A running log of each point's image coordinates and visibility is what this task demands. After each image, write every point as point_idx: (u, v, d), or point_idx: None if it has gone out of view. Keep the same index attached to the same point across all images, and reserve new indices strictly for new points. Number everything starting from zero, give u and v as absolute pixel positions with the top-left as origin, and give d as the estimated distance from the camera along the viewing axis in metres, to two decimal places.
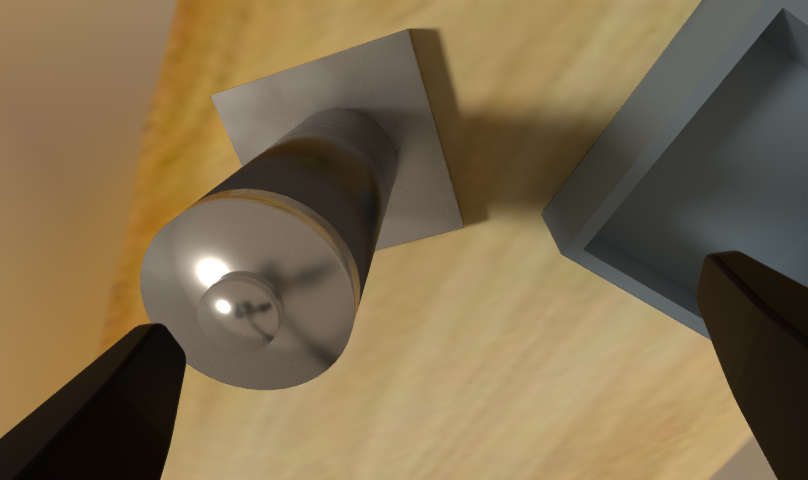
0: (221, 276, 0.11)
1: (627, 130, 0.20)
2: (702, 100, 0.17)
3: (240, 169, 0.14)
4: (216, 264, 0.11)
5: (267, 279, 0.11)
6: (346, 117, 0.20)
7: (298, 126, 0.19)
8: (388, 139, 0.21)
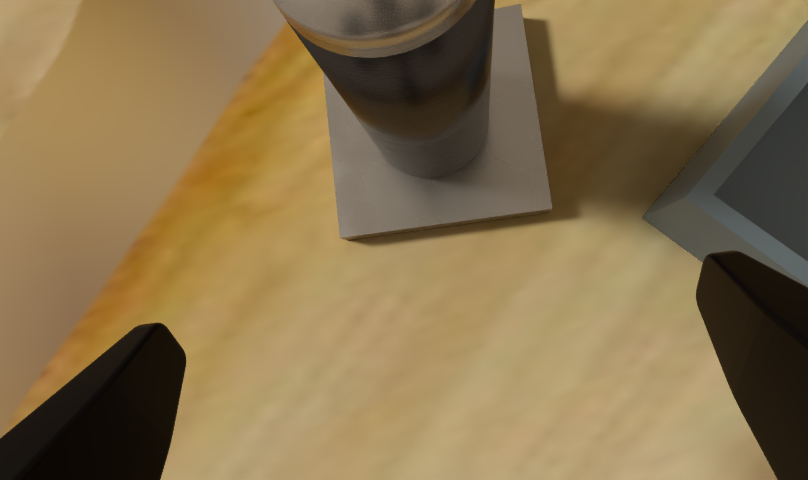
0: None
1: (749, 103, 0.18)
2: None
3: None
4: None
5: None
6: None
7: None
8: None
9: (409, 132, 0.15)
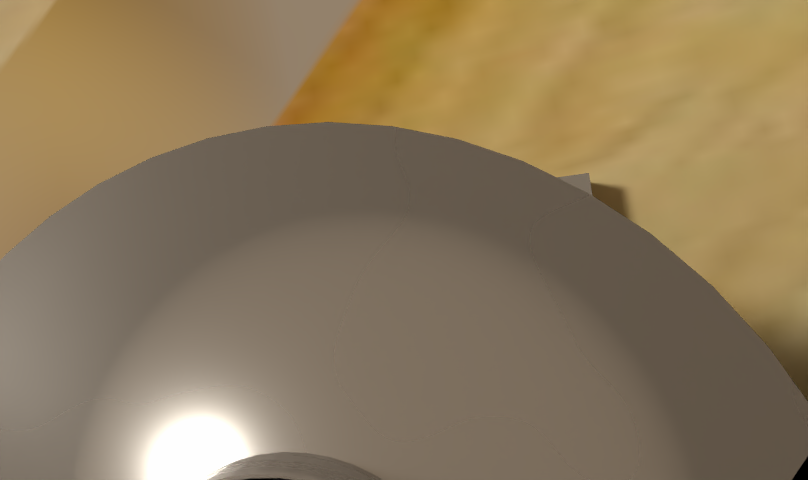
0: (230, 464, 0.02)
1: None
2: None
3: None
4: (229, 399, 0.02)
5: None
6: None
7: None
8: None
9: None
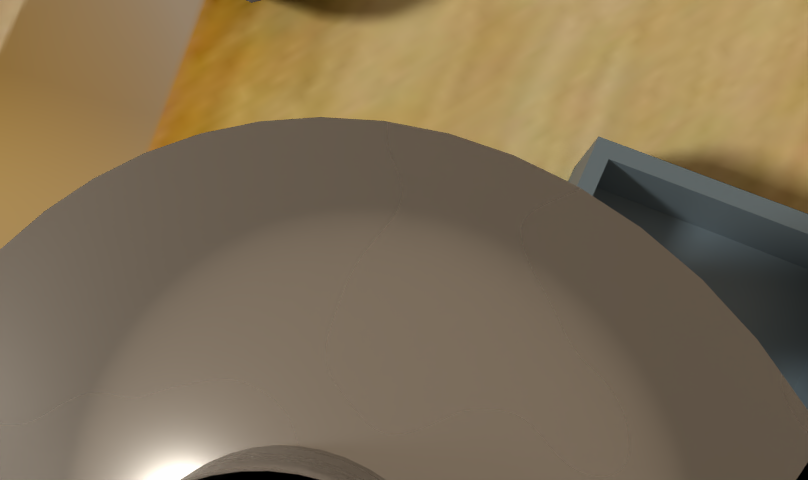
0: (223, 457, 0.02)
1: None
2: None
3: None
4: (222, 393, 0.02)
5: None
6: None
7: None
8: None
9: None
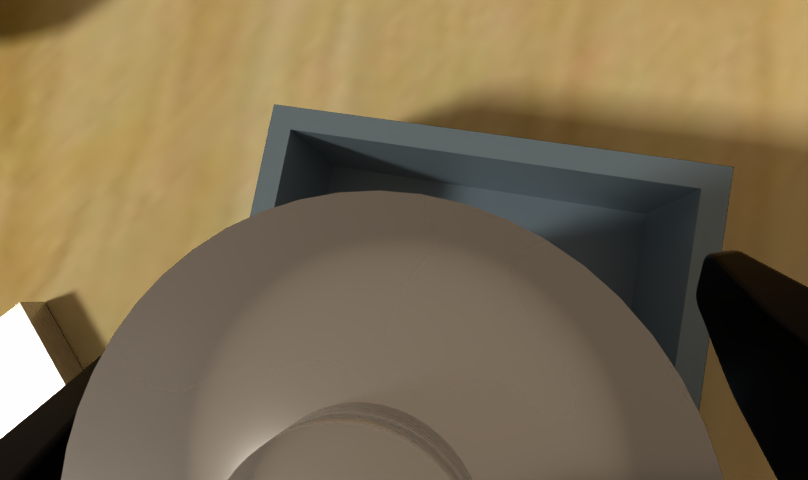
0: (320, 409, 0.04)
1: None
2: None
3: None
4: (317, 369, 0.04)
5: (458, 449, 0.04)
6: None
7: None
8: None
9: None
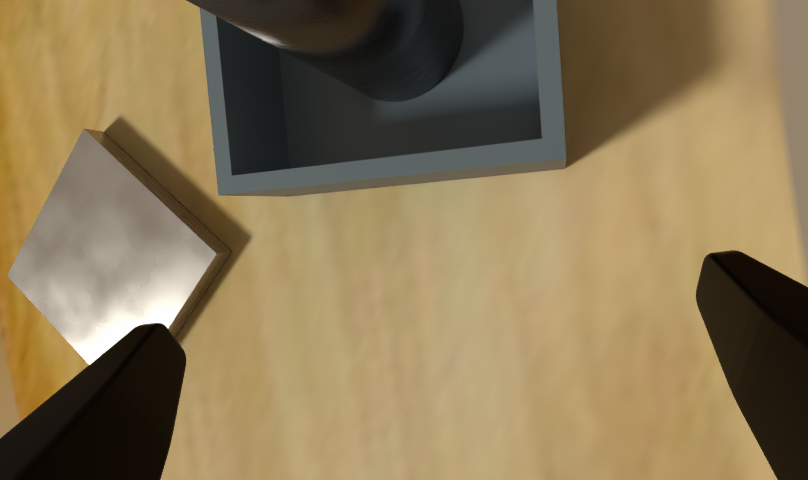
0: None
1: None
2: None
3: None
4: None
5: None
6: None
7: None
8: None
9: (347, 53, 0.12)
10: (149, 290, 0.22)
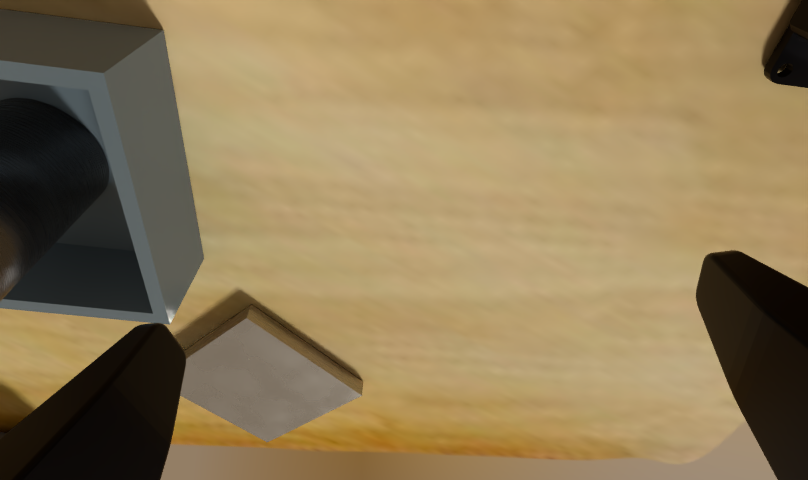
0: None
1: None
2: None
3: None
4: None
5: None
6: None
7: None
8: None
9: (7, 245, 0.16)
10: (276, 364, 0.29)
